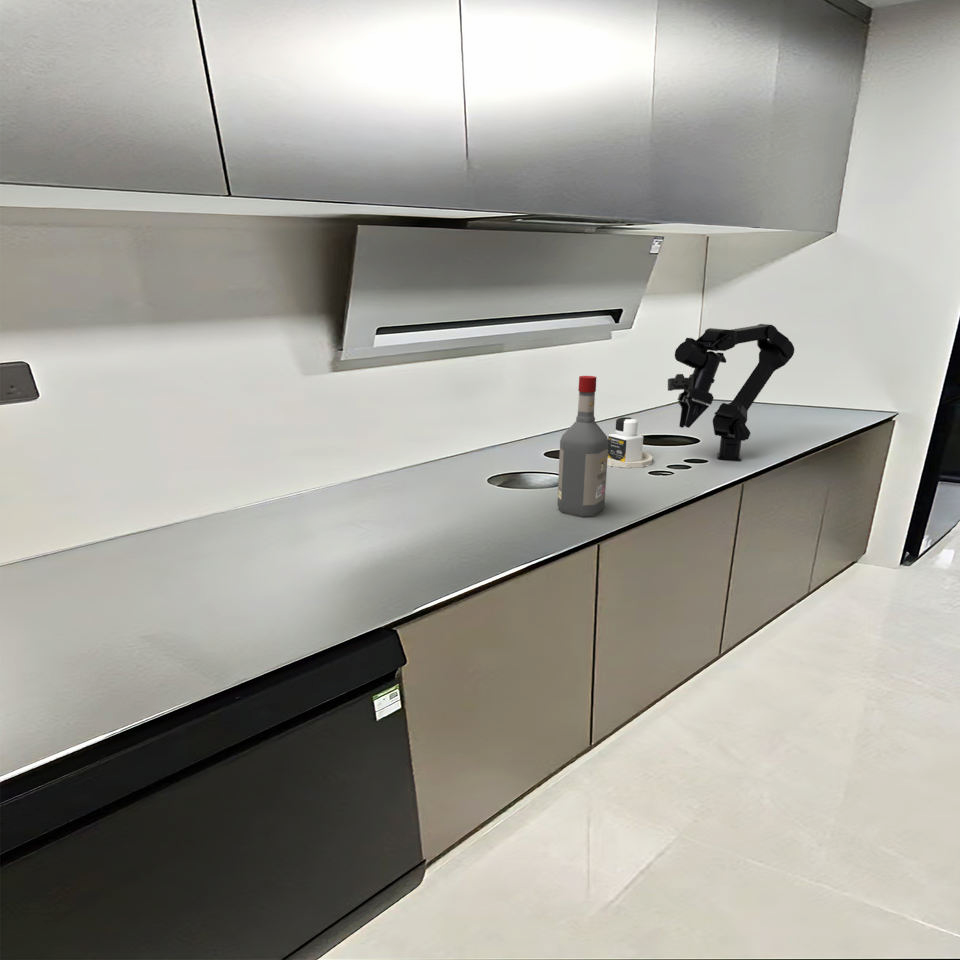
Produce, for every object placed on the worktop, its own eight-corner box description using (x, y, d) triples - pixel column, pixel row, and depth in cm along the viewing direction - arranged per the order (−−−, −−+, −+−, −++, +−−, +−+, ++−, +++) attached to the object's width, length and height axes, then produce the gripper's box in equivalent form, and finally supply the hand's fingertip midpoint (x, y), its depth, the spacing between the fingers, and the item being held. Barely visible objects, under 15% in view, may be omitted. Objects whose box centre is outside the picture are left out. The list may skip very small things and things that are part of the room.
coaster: (599, 451, 201) (600, 447, 201) (654, 456, 196) (654, 451, 196) (591, 465, 187) (591, 459, 186) (649, 470, 182) (649, 465, 181)
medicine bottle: (606, 458, 192) (609, 417, 189) (623, 455, 196) (626, 415, 193) (624, 463, 187) (627, 421, 183) (642, 460, 190) (645, 419, 187)
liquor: (607, 508, 151) (616, 376, 142) (590, 519, 144) (598, 381, 135) (571, 500, 156) (578, 372, 147) (553, 511, 149) (558, 377, 140)
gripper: (670, 367, 192) (651, 418, 194) (681, 360, 174) (660, 417, 176) (707, 379, 191) (688, 430, 193) (723, 374, 173) (701, 431, 174)
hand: (683, 427), depth 184 cm, fingers open, 9 cm apart
